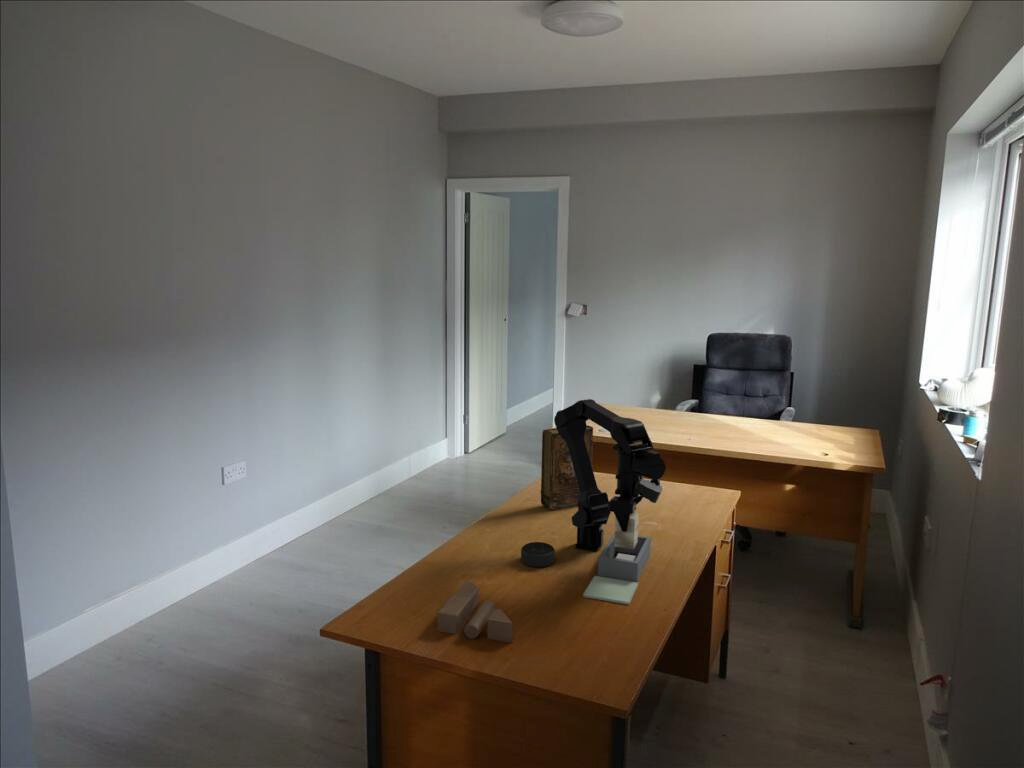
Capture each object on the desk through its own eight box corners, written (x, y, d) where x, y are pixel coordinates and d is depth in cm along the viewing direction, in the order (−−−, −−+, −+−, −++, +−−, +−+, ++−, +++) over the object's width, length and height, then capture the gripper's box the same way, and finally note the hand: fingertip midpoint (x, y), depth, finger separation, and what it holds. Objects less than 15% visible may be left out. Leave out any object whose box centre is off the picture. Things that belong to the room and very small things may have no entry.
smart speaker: (514, 561, 201) (514, 547, 201) (536, 552, 208) (536, 538, 207) (539, 571, 195) (539, 557, 195) (561, 561, 202) (561, 547, 201)
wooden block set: (435, 610, 163) (463, 575, 180) (435, 634, 164) (464, 598, 181) (510, 621, 159) (533, 585, 176) (510, 646, 160) (533, 608, 177)
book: (584, 498, 251) (586, 424, 246) (593, 503, 246) (595, 428, 241) (540, 505, 243) (542, 429, 239) (549, 511, 239) (550, 433, 234)
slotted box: (597, 575, 193) (598, 557, 192) (613, 549, 210) (614, 532, 209) (637, 582, 190) (638, 563, 189) (650, 554, 206) (651, 537, 205)
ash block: (614, 546, 197) (615, 517, 196) (618, 539, 202) (619, 510, 200) (633, 549, 195) (634, 519, 194) (637, 542, 200) (638, 513, 198)
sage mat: (583, 596, 182) (583, 594, 182) (594, 578, 192) (594, 575, 192) (628, 604, 178) (629, 602, 178) (638, 585, 188) (638, 582, 188)
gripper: (654, 484, 183) (651, 545, 186) (666, 463, 201) (663, 520, 204) (608, 478, 187) (606, 539, 190) (624, 459, 204) (622, 514, 207)
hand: (626, 527), depth 198 cm, fingers closed on ash block, 5 cm apart
